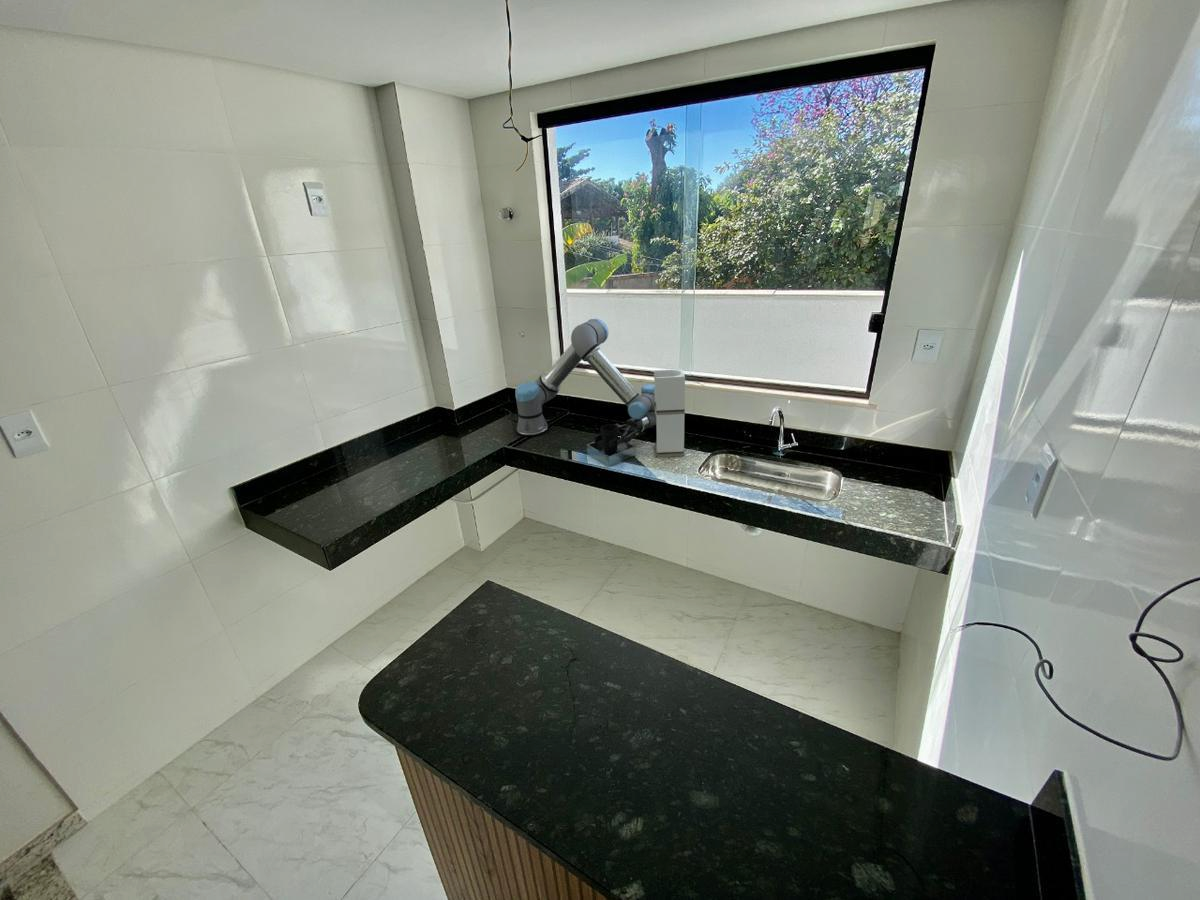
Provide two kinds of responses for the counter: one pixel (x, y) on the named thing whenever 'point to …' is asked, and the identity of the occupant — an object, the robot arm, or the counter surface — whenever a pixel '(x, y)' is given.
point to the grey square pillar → (669, 411)
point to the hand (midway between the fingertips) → (602, 442)
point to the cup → (609, 438)
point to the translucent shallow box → (622, 454)
